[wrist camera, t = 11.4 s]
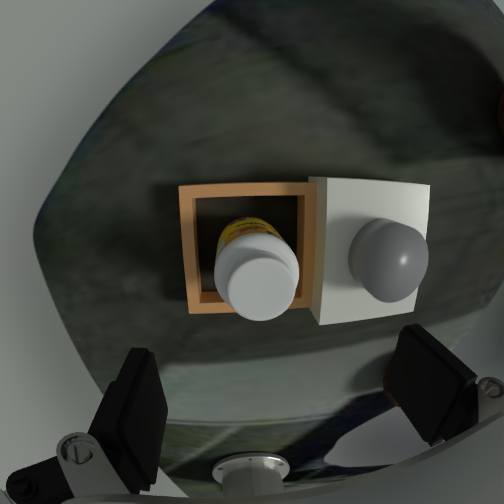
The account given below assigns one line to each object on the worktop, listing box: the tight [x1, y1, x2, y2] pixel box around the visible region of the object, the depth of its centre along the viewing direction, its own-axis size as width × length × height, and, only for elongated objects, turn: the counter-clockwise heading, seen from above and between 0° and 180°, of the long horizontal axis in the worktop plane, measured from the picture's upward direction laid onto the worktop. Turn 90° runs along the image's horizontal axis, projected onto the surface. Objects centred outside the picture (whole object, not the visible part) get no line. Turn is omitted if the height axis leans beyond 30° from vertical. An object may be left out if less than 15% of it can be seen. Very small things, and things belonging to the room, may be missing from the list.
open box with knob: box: [179, 176, 430, 325], centre depth 22 cm, size 12×21×8 cm, turn 91°
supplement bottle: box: [214, 217, 299, 321], centre depth 21 cm, size 6×6×10 cm
